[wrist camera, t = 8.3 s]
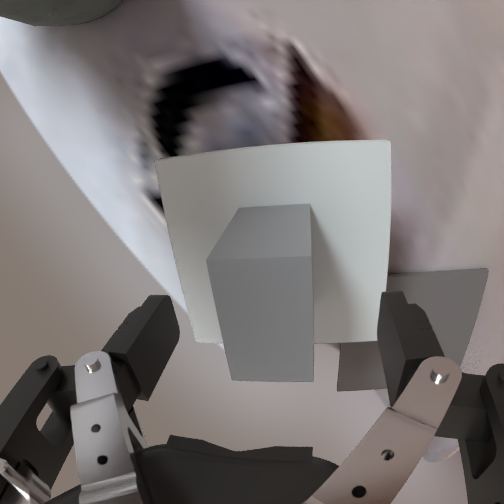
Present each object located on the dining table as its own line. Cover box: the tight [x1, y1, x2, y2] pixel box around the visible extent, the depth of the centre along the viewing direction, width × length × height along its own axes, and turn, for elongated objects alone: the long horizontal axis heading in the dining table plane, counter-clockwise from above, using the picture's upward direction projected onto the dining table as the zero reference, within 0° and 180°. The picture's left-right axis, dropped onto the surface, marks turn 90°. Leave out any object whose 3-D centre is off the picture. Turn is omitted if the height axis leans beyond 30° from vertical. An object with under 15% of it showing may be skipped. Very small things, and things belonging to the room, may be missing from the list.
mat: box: [337, 268, 489, 391], centre depth 22 cm, size 11×11×1 cm
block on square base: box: [155, 140, 391, 382], centre depth 13 cm, size 10×10×6 cm
